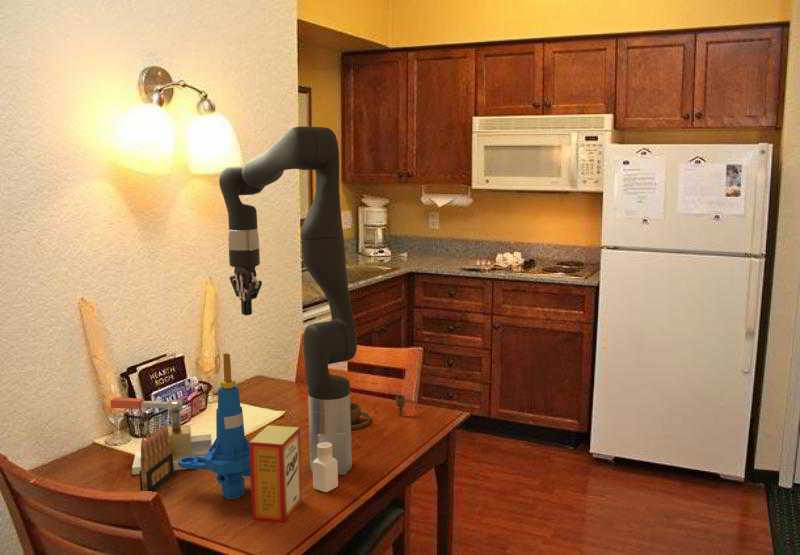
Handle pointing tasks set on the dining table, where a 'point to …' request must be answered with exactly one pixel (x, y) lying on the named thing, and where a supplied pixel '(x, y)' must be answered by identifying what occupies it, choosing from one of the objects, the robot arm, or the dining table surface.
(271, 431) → the baking soda box
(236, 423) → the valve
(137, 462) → the mounting board
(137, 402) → the valve lever
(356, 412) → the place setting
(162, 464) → the ammunition clip
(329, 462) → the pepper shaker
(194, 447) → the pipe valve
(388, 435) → the dining table surface
